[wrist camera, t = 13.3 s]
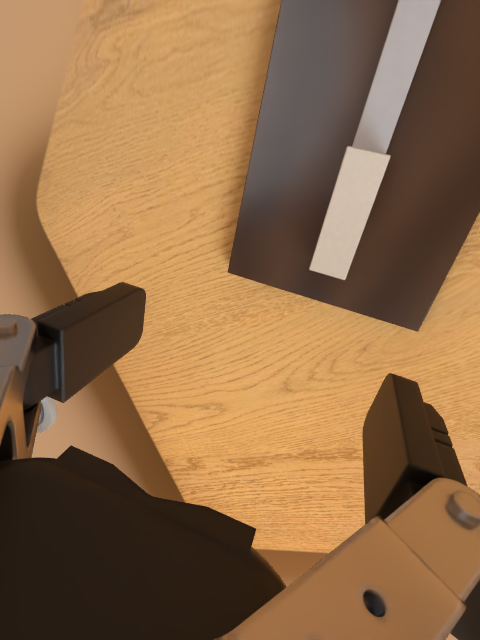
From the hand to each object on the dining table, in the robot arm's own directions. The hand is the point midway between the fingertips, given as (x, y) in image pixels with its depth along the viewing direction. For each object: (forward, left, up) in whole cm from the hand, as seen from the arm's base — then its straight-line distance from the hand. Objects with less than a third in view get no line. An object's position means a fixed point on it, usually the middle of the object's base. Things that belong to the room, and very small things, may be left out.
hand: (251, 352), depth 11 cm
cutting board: (+2, +8, -19) cm, 21 cm away
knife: (+2, +8, -18) cm, 19 cm away
